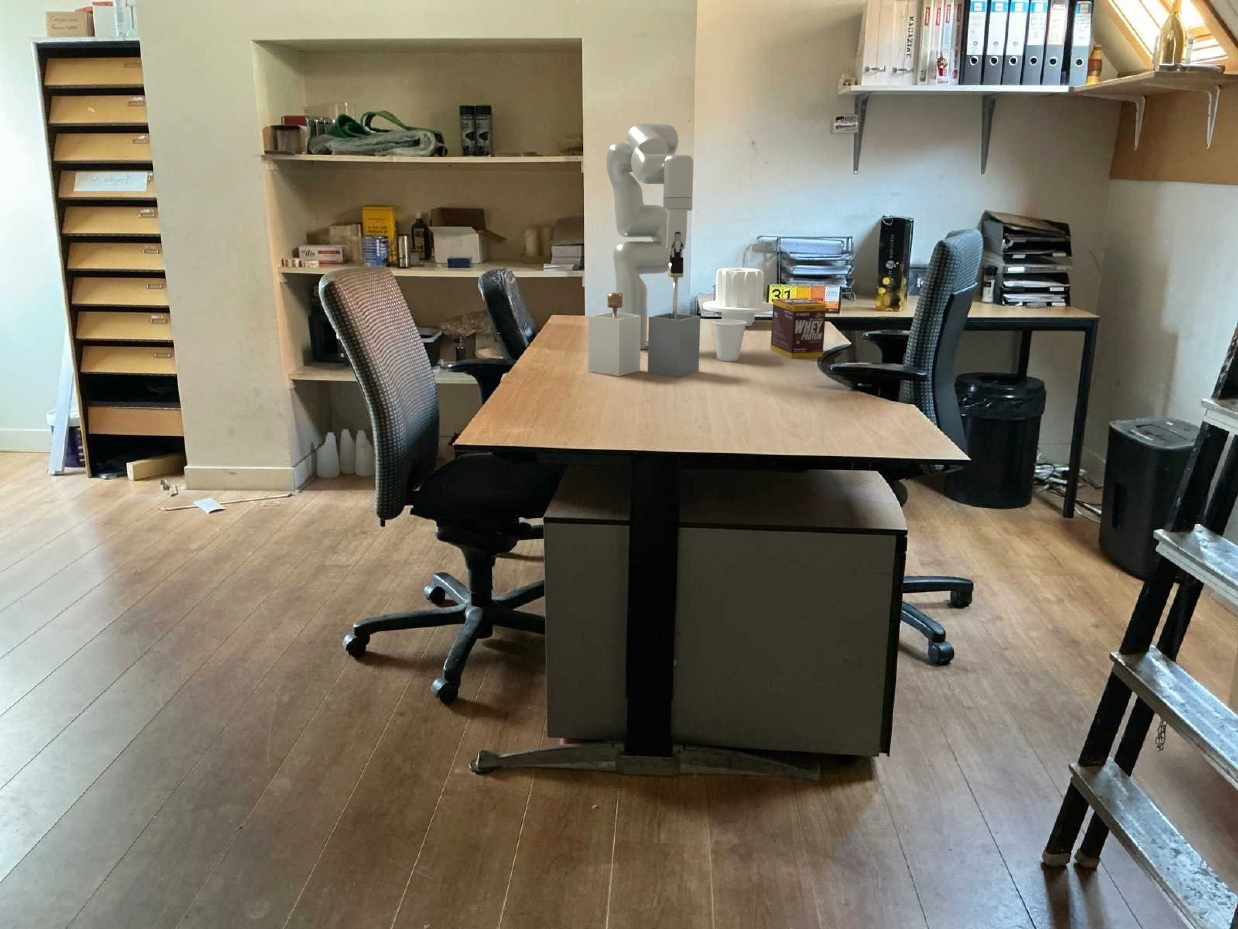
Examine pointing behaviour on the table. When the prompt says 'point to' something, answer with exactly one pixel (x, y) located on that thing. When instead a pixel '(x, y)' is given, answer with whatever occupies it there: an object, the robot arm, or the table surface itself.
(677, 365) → the grey open box
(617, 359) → the white open box
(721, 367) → the table surface
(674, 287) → the brass knobbed plunger
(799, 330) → the supplement box
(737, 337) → the cup
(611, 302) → the bronze knobbed rod
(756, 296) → the flanged gear
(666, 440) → the table surface
